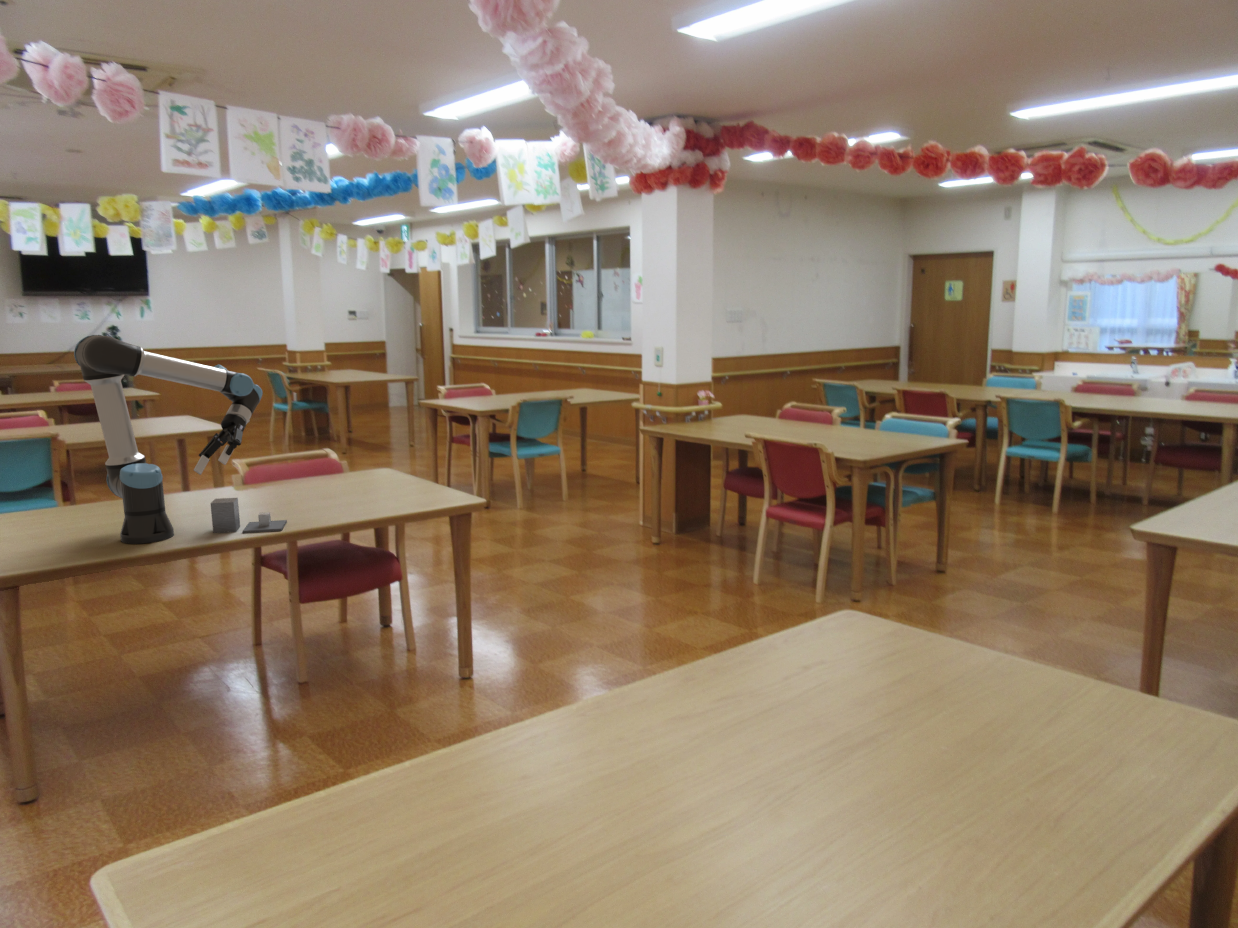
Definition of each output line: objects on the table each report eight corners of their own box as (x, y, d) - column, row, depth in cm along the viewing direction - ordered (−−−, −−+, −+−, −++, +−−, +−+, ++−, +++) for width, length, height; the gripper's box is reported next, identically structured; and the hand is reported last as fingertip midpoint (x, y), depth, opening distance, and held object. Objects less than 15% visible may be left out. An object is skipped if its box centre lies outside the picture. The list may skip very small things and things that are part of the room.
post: (259, 526, 292) (258, 514, 292) (260, 524, 295) (259, 512, 295) (269, 526, 293) (268, 514, 292) (271, 523, 296) (270, 512, 295)
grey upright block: (213, 533, 288) (210, 503, 286) (217, 527, 294) (215, 498, 293) (236, 531, 289) (233, 502, 287) (240, 526, 296) (237, 497, 294)
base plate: (242, 533, 287) (242, 530, 287) (249, 524, 299) (249, 521, 299) (281, 530, 290) (281, 528, 290) (286, 522, 301) (286, 519, 301)
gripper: (267, 417, 302) (241, 464, 289) (222, 436, 314) (196, 482, 301) (249, 403, 297) (223, 451, 284) (205, 423, 310) (178, 469, 296)
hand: (209, 467), depth 292 cm, fingers open, 13 cm apart
